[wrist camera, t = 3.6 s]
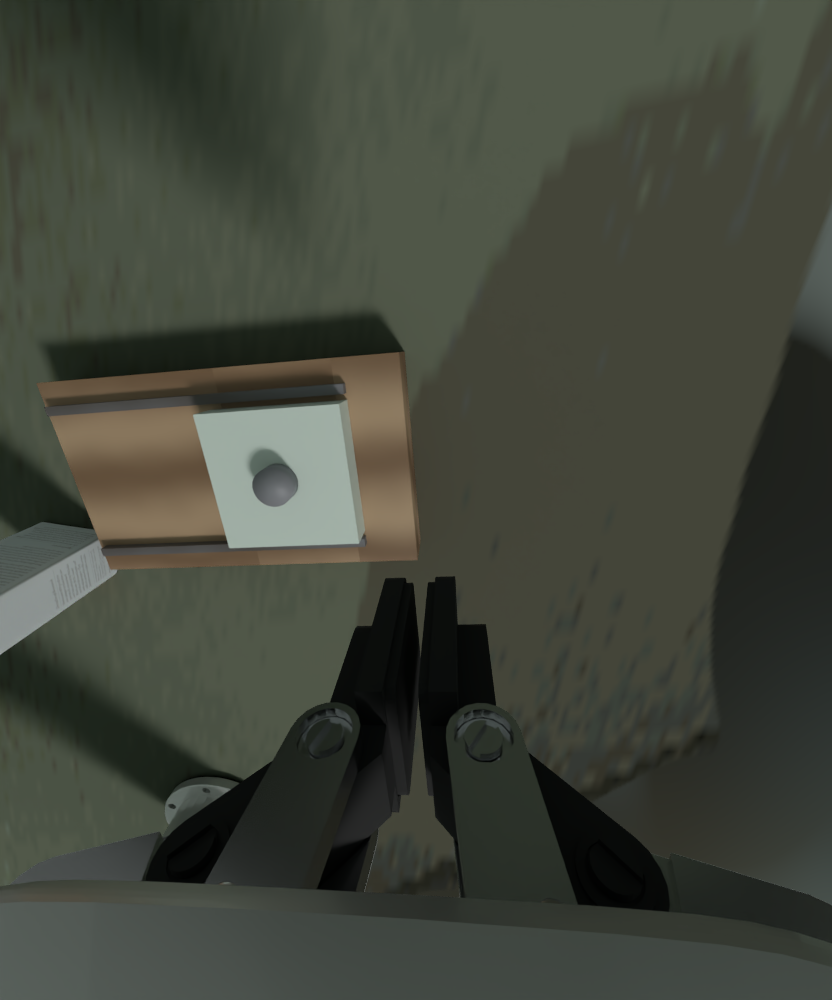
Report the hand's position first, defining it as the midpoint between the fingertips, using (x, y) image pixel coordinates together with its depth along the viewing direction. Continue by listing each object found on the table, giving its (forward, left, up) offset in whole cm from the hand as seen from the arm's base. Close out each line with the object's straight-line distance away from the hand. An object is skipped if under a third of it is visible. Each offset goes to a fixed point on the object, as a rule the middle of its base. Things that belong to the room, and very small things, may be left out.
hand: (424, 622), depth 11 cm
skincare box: (-7, +31, -19) cm, 37 cm away
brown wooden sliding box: (0, +14, -19) cm, 24 cm away
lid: (0, +10, -16) cm, 19 cm away
